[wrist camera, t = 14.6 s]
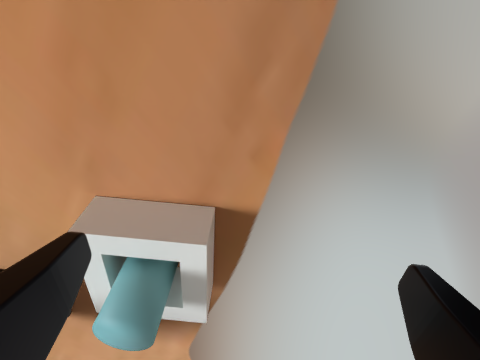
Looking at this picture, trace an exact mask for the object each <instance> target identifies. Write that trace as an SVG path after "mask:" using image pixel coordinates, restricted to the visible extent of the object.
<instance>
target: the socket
mask: <svg viewBox="0 0 480 360" xmlns="http://www.w3.org/2000/svg"><path fill="white" fill-rule="evenodd" d="M214 227H215V207H207V206H197V205H186V204H175V203H165V202H154V201H143V200H133V199H122V198H111V197H101V196H95V197H94V198H93V200H92V201H91V202H90V204H89V205H88V206H87V207H86V209H85V210H84V211H83V213H82V214H81V215H80V216H79V218H78V219H77V220H76V221H75V223H74V224H73V225H72V227H71V228H70V229H69V230H68V232H70V231H73V232H82V233H84V234H85V235H86V237H87V240H88V243H89V246H90V249H91V254H92V256H91V261H90V264H89V266H88V269H87V271H86V274H85V276H84V280H85V282H86V285H87V288H88V291H89V293H90V296H91V299H92V302H93V304H94V307H95V310H96V312H98V313H99V312H100V310H101V308H102V306H103V304H104V302H105V300H106V298H107V296H108V294H109V292H110V290H111V288H112V286H113V284H114V282H115V280H116V278H117V276H118V274H119V272H120V270H121V268H122V266H123V264H124V262H125V260H126V258H127V257H135V258H145V259H156V260H166V261H176V262H180V267H177V269H176V272H175V275H174V279H173V282H172V285H171V288H170V292H169V295H168V298H167V301H166V305H165V308H164V311H163V315H162V318H161V319H167V320H177V321H187V322H197V323H207V317H208V311H209V305H210V299H211V293H212V287H213V268H214Z"/></svg>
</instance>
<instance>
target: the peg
mask: <svg viewBox="0 0 480 360" xmlns="http://www.w3.org/2000/svg"><path fill="white" fill-rule="evenodd" d="M177 265H178V262H176V261H166V260H156V259H145V258H135V257H127V258H126V260H125V262H124V264H123V266H122V268H121V270H120V272H119V274H118V276H117V278H116V280H115V282H114V284H113V286H112V288H111V290H110V292H109V294H108V296H107V298H106V300H105V302H104V304H103V306H102V308H101V310H100V312H99V314H98V316H97V318H96V320H95V322H94V324H93V327H92V330H93V333H94V335H95V336H96V337H97V338H98V339H99V340H100V341H102V342H103V343H105V344H107V345H109V346H112V347H114V348H117V349H121V350H127V351H140V350H145V349H147V348H149V347H151V346H152V345H153V343H154V341H155V338H156V334H157V331H158V328H159V324H160V321H161V318H162V315H163V311H164V308H165V305H166V301H167V298H168V295H169V292H170V288H171V285H172V282H173V279H174V275H175V272H176V269H177Z"/></svg>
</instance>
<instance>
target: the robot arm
mask: <svg viewBox="0 0 480 360" xmlns="http://www.w3.org/2000/svg"><path fill="white" fill-rule="evenodd" d="M91 256H92V254H91V249H90V246H89V243H88V240H87V237H86V235H85V234H84V233H82V232H73V231H70V232H67V233H65V234H63V235H62V236H60V237H58V238H57V239H55V240H53V241H52V242H50V243H48V244H47V245H45V246H44V247H42V248H40V249H39V250H37V251H35V252H34V253H32V254H30V255H29V256H27V257H25V258H24V259H22V260H21V261H19V262H17V263H16V264H14V265H12V266H11V267H9V268H7V269H6V270H4V271H0V360H46V358H47V356H48V354H49V352H50V350H51V348H52V346H53V345H54V343H55V341H56V339H57V337H58V335H59V333H60V331H61V329H62V327H63V325H64V323H65V321H66V319H67V317H69V316H70V314H71V309H72V306H73V304H74V302H75V299H76V296H77V294H78V291H79V289H80V286H81V284H82V281H83V279H84V276H85V274H86V271H87V269H88V266H89V264H90V261H91ZM398 291H399V296H400V301H401V305H402V310H403V314H404V319H405V323H406V328H407V332H408V337H409V341H410V344H411V348H412V351H413V355H414V358H415V360H480V310H479V309H478V308H477V307H475V306H474V305H473V304H472V303H471V302H470V301H468V300H467V299H466V298H465V297H464V296H462V295H461V294H460V293H459V292H458V291H457V290H455V289H454V288H453V287H452V286H450V285H449V284H448V283H447V282H446V281H445V280H444V279H442V278H441V277H440V276H439V275H438V274H436V273H435V272H434V271H433V270H432V269H430V268H429V267H428V266H425V265H416V264H411V265H410V266H408V268H407V270H406V271H405V273H404V275H403V276H402V278H401V280H400V281H399V285H398Z"/></svg>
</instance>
